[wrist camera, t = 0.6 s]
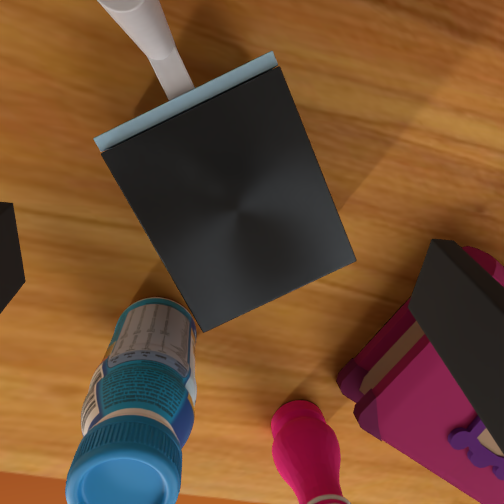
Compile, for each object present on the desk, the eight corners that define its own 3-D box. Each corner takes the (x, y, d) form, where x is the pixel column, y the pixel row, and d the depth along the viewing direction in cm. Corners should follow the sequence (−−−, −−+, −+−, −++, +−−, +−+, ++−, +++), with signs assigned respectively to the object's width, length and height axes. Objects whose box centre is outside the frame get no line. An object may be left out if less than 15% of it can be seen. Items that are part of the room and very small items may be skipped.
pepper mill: (301, 455, 51) (361, 656, 32) (254, 430, 49) (287, 628, 30) (339, 412, 49) (423, 596, 30) (291, 385, 47) (350, 562, 29)
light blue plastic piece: (89, 81, 35) (-68, 31, 15) (233, 10, 35) (276, -143, 14) (197, 279, 42) (193, 432, 21) (320, 220, 41) (435, 320, 21)
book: (460, 240, 44) (510, 263, 37) (604, 369, 52) (668, 409, 45) (331, 380, 48) (353, 427, 41) (483, 482, 55) (525, 536, 48)
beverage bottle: (174, 280, 42) (152, 413, 23) (211, 345, 45) (218, 512, 26) (99, 315, 42) (16, 475, 23) (140, 378, 45) (96, 567, 26)
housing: (124, 145, 38) (100, 153, 29) (260, 78, 37) (279, 65, 28) (203, 287, 43) (203, 333, 34) (323, 230, 42) (357, 261, 33)
